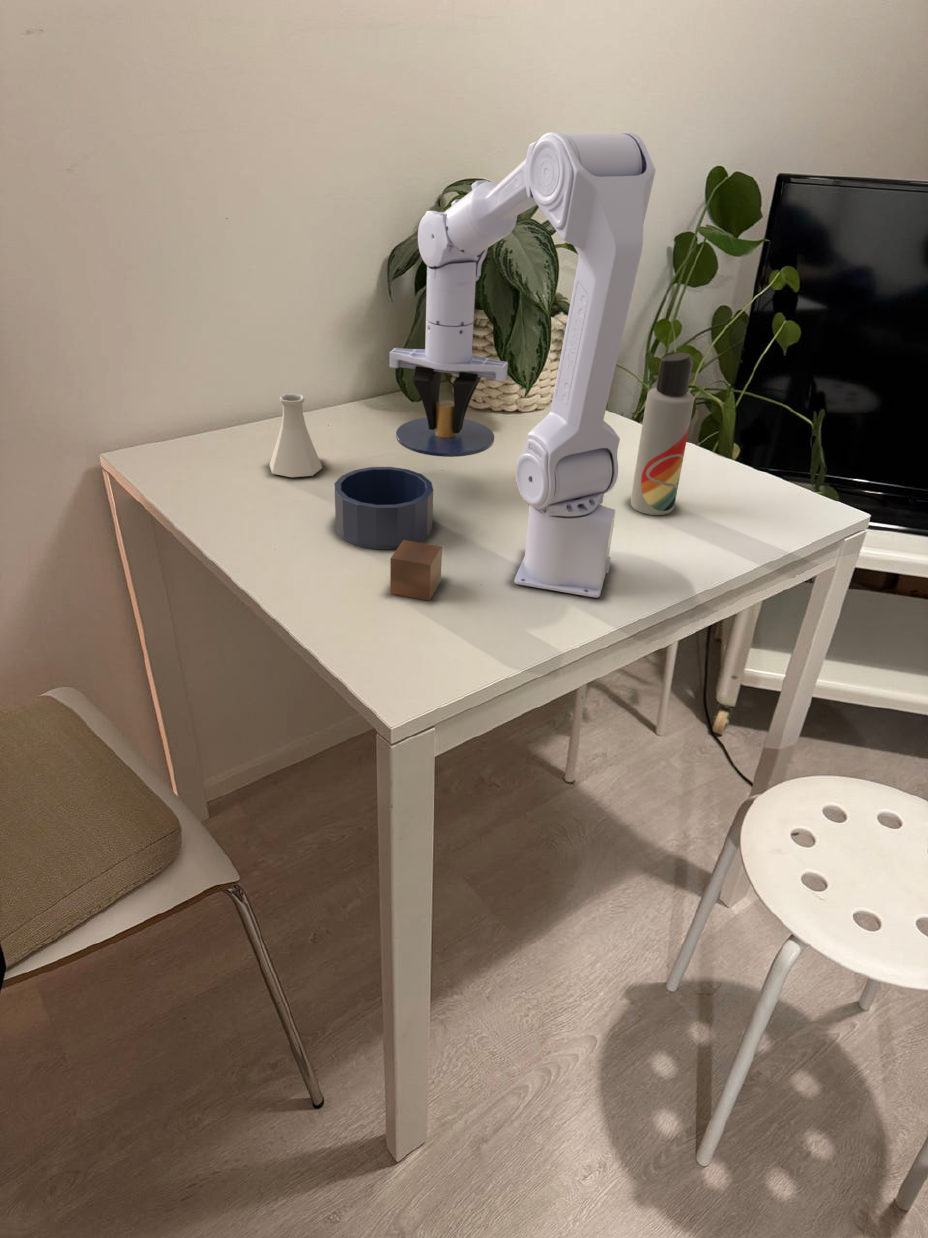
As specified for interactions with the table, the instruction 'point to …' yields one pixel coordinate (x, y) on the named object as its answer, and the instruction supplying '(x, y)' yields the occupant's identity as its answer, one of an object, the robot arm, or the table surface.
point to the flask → (294, 442)
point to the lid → (445, 435)
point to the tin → (383, 507)
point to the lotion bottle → (663, 437)
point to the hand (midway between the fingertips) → (445, 428)
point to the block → (415, 570)
